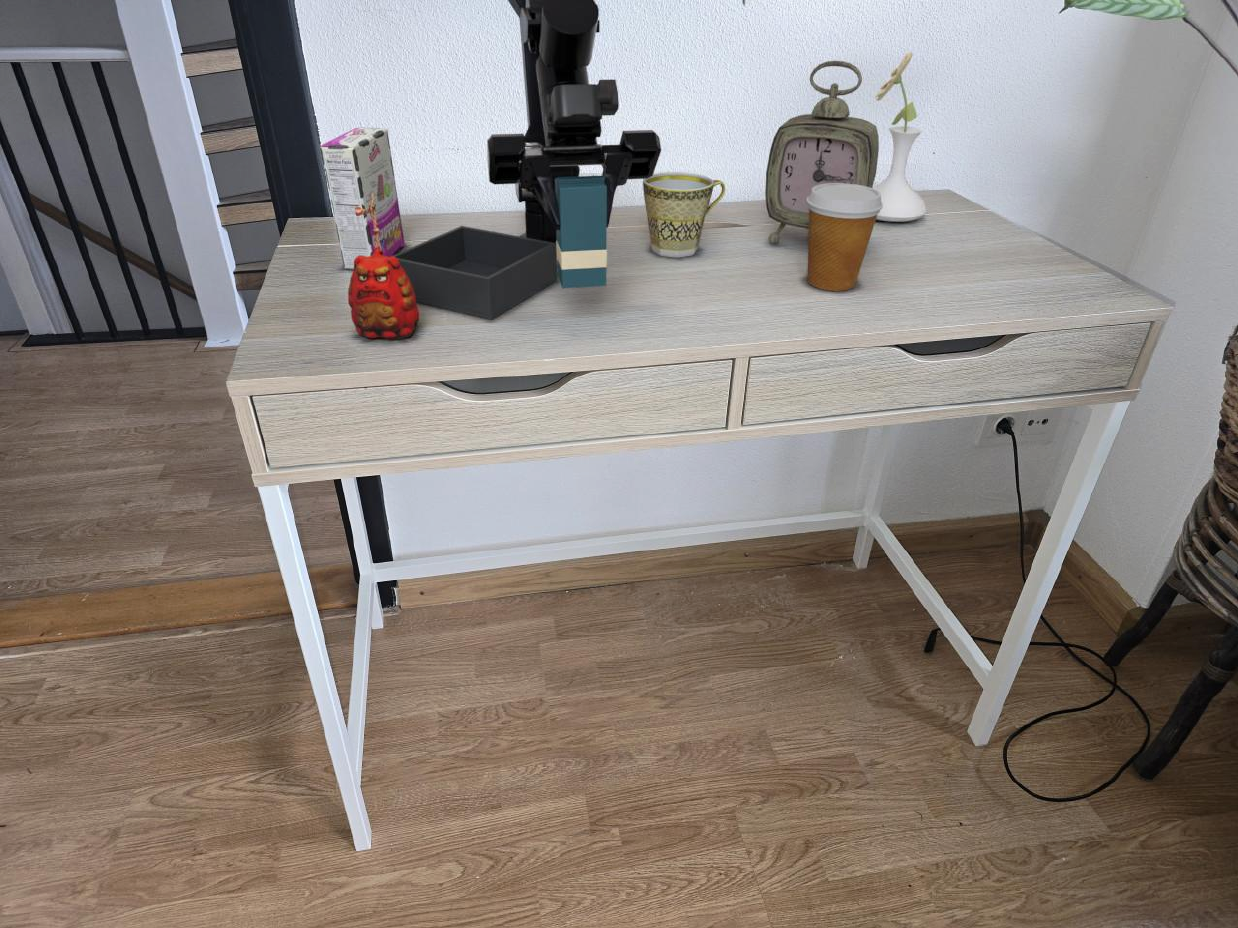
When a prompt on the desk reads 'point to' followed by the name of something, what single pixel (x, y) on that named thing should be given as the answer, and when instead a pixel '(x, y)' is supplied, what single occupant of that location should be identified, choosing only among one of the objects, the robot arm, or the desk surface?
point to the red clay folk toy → (381, 292)
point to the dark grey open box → (478, 270)
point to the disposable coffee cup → (839, 233)
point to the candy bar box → (363, 192)
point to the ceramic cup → (677, 210)
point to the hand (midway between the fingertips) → (582, 227)
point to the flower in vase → (900, 161)
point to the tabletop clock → (818, 154)
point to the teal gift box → (582, 231)
